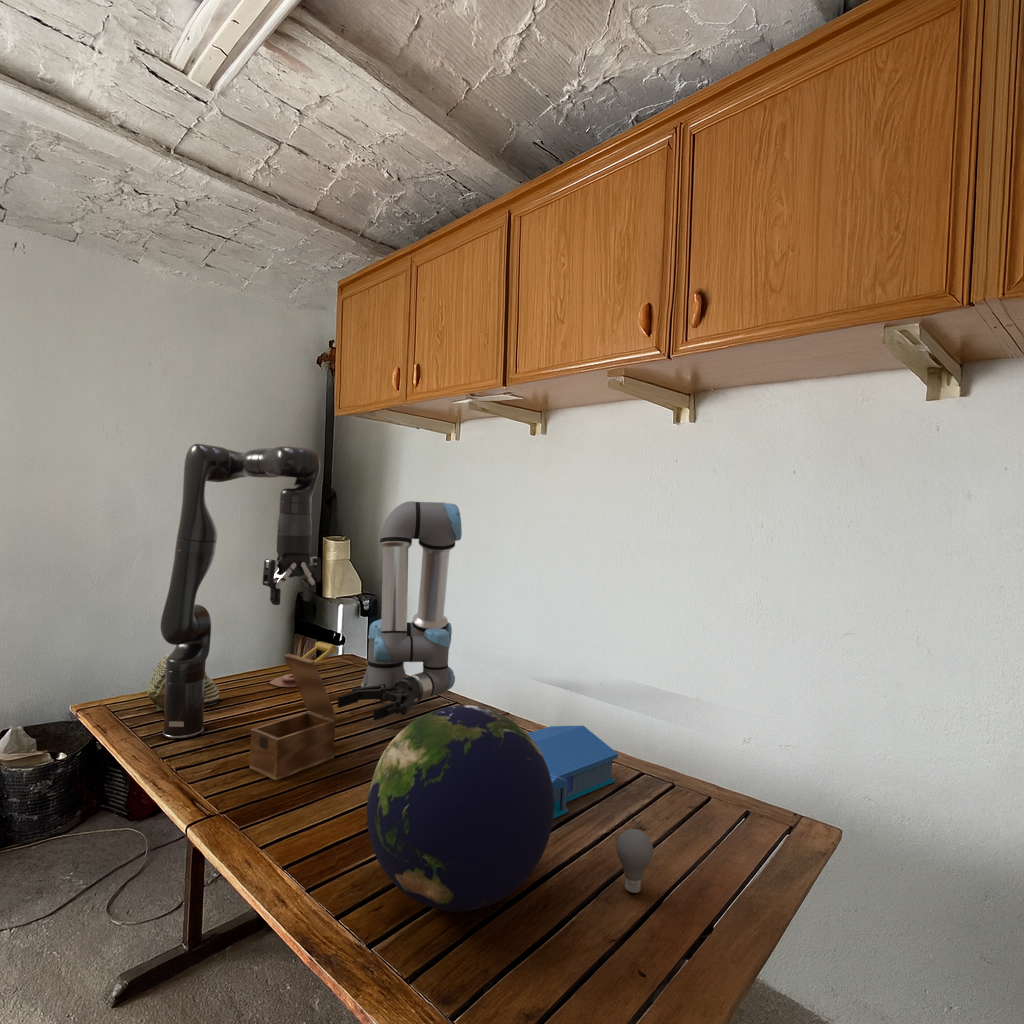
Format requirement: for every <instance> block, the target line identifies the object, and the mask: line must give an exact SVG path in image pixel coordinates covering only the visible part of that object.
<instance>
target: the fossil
mask: <svg viewBox="0 0 1024 1024" xmlns="http://www.w3.org/2000/svg"><path fill="white" fill-rule="evenodd" d="M169 655H170V654H165V655H164V656H163V657H162V658H161V659H160V660H159V662H158V663H157V666H156V667H155V669H154V670H153V672H152V675H151V677H150V680H149V684H148V688H147V697H148V699H149V700H150V701H152V703H153V704H154V706H155V711H158V712H159V711H162V712H163V711H164V705H165V674H166V659H167V658H168V656H169ZM220 698H221V696H220V690H219V688H218V686H217V685H216V683H215V682H214V681H213V679H212V678H211V677H209V675H208V674H207V672H206V671H205V693H204V707H207V706H213V705H215V704H217V703H218V701H219V699H220Z"/></svg>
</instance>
